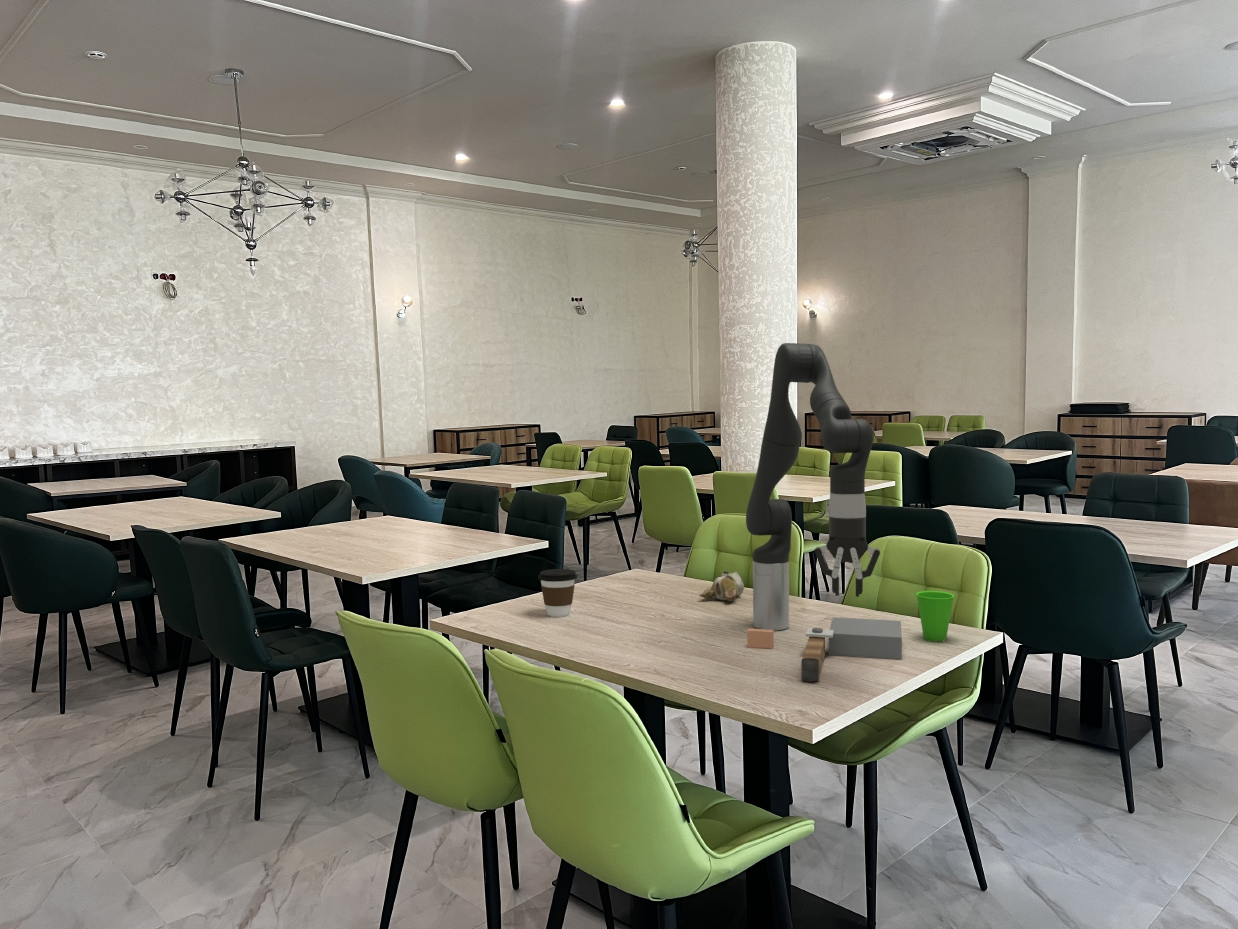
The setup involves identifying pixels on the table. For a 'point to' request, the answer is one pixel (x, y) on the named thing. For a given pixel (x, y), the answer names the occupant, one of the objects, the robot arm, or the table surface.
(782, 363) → the robot arm
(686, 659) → the table surface
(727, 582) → the ceramic sculpture
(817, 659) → the leg
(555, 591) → the coffee cup
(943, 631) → the cup
